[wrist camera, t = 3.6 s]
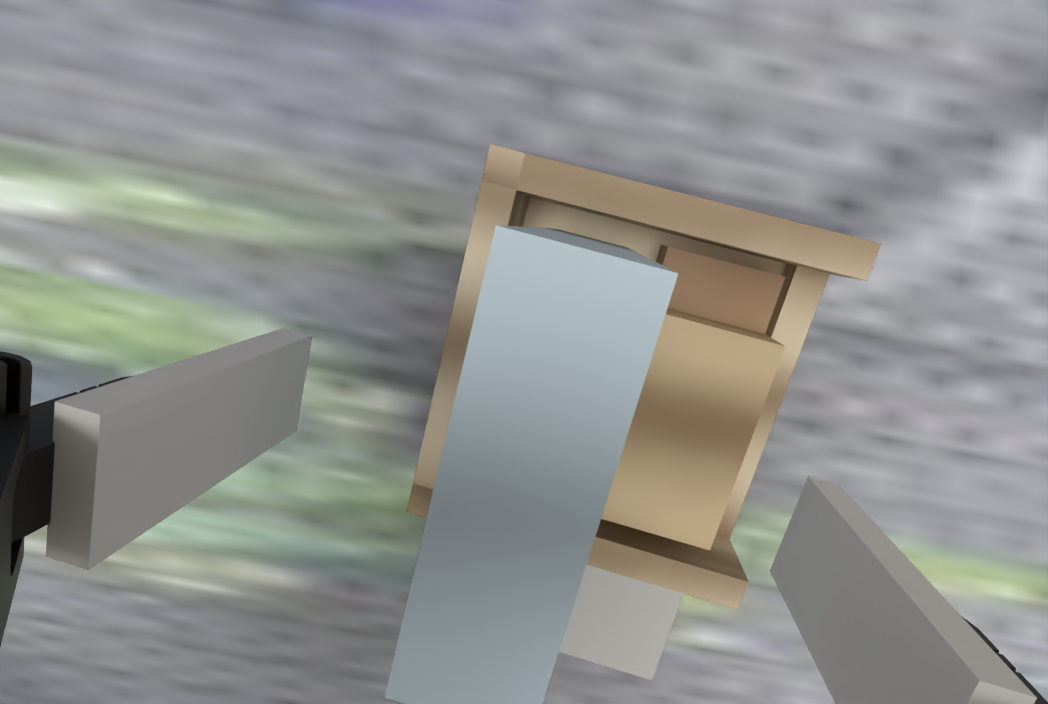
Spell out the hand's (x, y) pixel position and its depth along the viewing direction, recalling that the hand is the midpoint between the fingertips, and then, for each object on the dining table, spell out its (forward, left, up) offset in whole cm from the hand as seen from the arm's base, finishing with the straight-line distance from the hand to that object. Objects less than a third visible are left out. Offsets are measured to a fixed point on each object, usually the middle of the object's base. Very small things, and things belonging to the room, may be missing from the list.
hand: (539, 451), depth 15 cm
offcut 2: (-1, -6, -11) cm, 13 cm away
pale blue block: (0, 0, -14) cm, 14 cm away
